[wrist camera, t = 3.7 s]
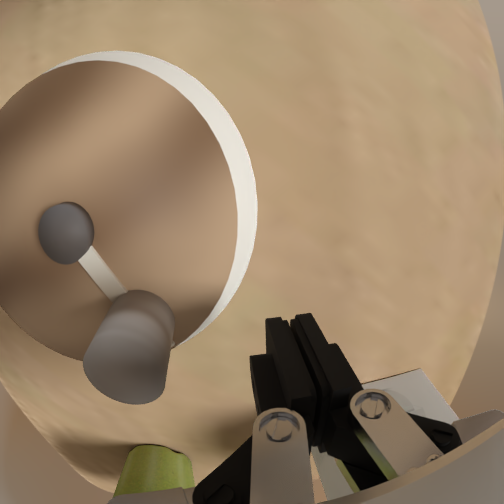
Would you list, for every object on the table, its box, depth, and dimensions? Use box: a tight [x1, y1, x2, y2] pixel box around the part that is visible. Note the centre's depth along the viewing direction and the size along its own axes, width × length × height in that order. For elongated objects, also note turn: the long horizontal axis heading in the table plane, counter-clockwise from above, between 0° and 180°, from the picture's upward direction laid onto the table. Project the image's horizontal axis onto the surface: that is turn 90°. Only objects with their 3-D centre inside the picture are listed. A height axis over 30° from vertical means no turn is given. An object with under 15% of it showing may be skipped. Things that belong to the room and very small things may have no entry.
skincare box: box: [311, 369, 460, 501], centre depth 17 cm, size 10×6×10 cm, turn 90°
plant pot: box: [113, 445, 195, 497], centre depth 18 cm, size 9×9×9 cm
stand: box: [43, 51, 257, 346], centre depth 13 cm, size 16×16×2 cm
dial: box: [0, 60, 238, 404], centre depth 9 cm, size 14×14×5 cm
